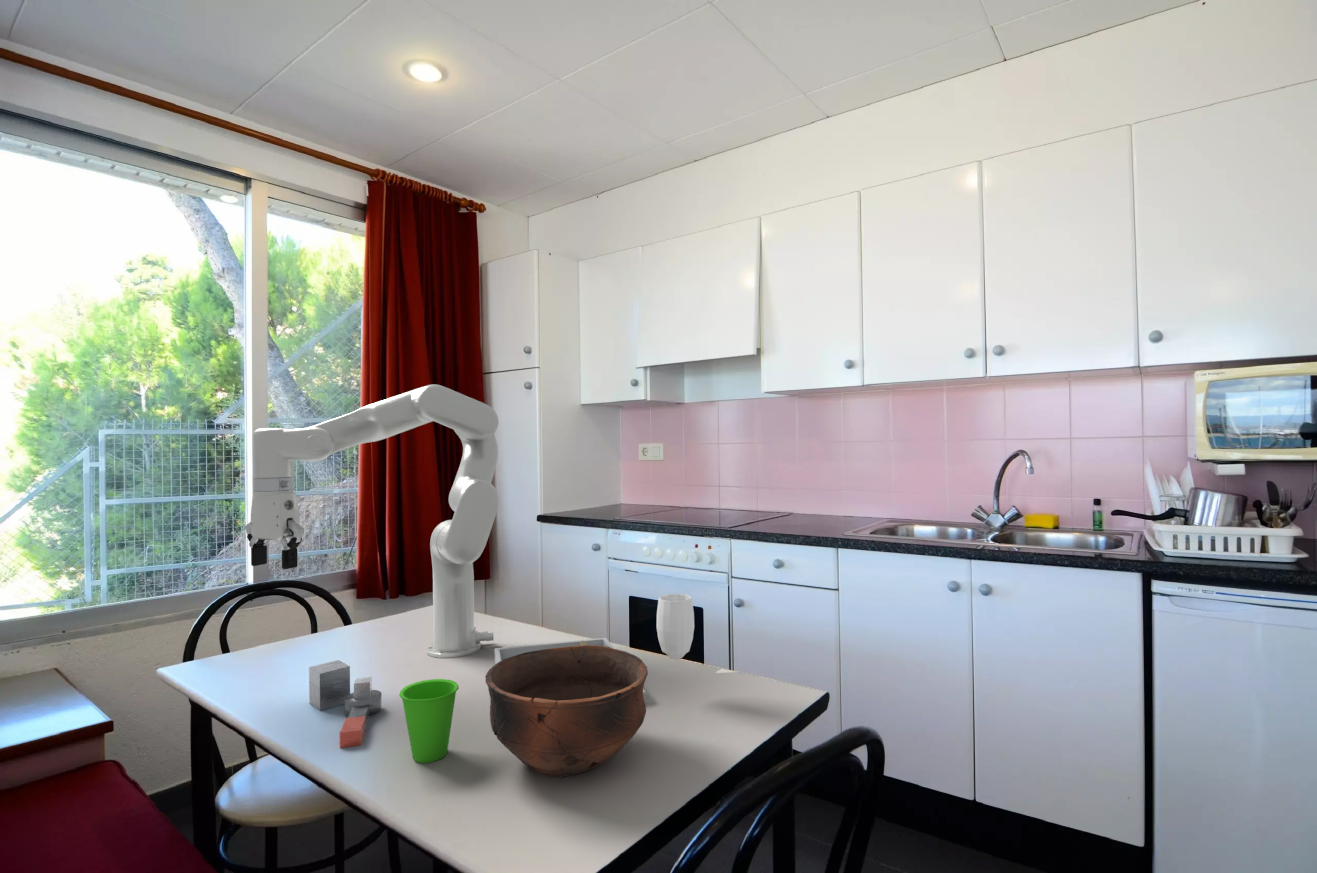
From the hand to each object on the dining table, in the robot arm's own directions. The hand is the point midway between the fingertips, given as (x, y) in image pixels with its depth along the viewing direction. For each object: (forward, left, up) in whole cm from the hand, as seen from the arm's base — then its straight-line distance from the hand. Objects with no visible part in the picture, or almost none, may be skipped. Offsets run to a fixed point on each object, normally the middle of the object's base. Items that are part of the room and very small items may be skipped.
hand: (274, 566), depth 142 cm
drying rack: (-58, +20, -25) cm, 66 cm away
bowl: (-54, +54, -25) cm, 81 cm away
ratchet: (-20, +22, -25) cm, 39 cm away
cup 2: (-77, +38, -25) cm, 90 cm away
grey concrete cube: (-13, +15, -25) cm, 32 cm away
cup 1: (-33, +45, -25) cm, 61 cm away
